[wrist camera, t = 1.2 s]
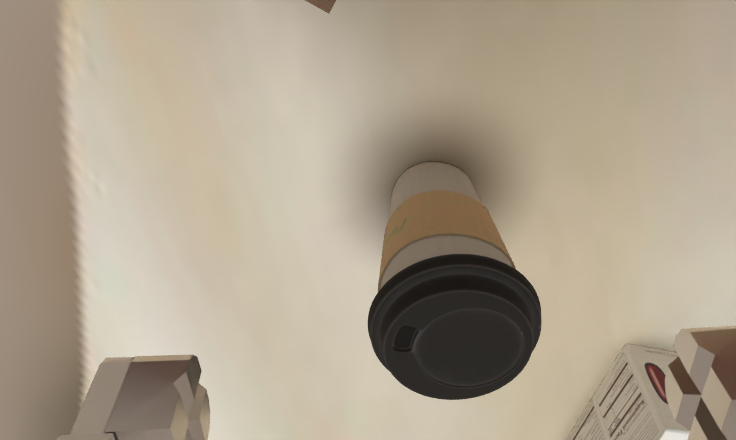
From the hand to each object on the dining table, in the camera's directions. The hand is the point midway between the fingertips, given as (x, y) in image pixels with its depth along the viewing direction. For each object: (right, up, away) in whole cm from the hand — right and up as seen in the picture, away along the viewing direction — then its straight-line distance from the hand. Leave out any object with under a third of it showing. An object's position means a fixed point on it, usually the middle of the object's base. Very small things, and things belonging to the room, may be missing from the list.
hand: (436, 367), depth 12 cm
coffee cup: (+3, +4, +36) cm, 37 cm away
